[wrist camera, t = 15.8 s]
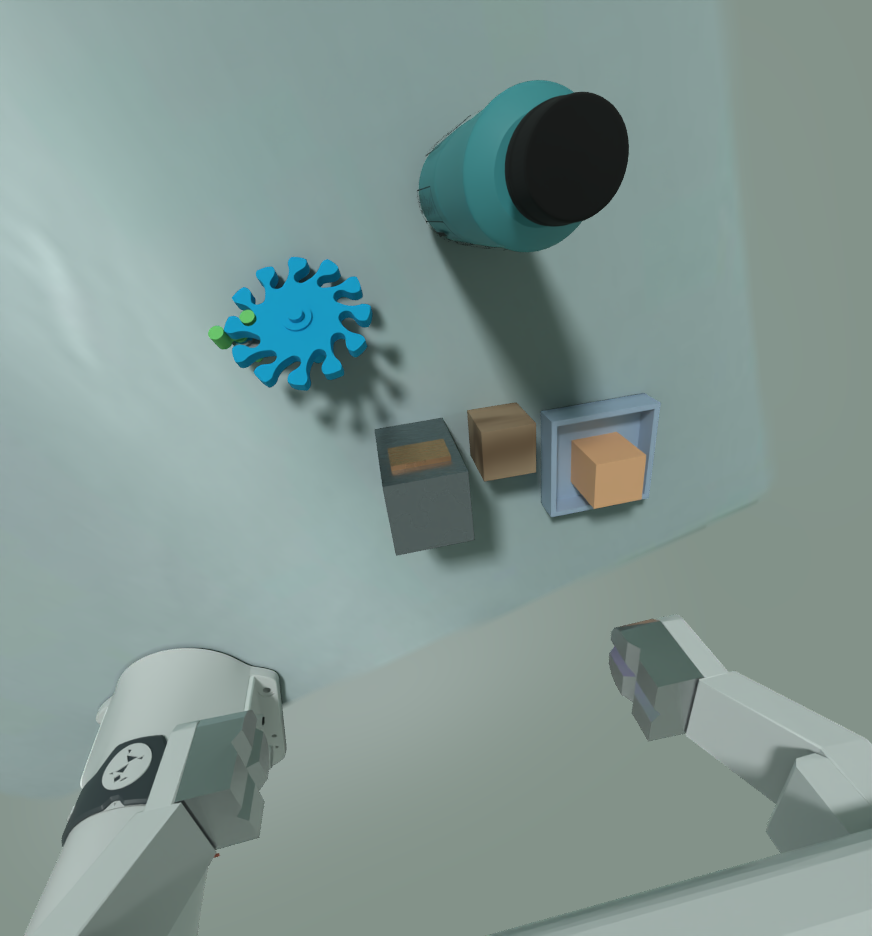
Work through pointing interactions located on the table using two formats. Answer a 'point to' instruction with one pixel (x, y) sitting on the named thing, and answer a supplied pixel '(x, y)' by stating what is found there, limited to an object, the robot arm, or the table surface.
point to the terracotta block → (607, 469)
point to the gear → (295, 324)
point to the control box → (424, 486)
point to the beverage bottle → (525, 168)
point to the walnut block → (502, 441)
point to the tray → (591, 419)
